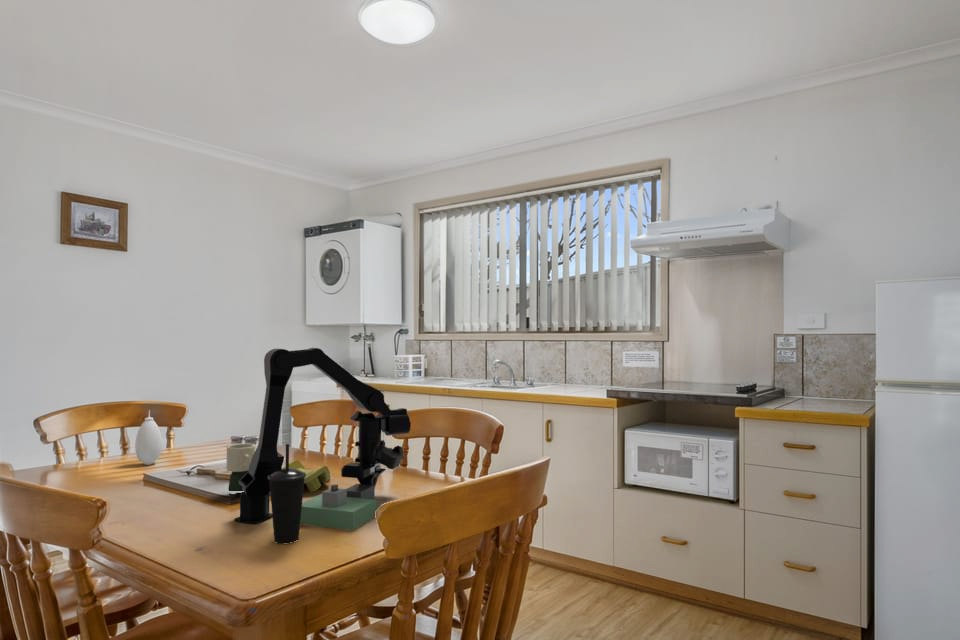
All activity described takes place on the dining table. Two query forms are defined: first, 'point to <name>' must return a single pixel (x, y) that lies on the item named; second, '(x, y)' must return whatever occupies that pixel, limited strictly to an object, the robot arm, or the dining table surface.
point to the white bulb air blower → (148, 442)
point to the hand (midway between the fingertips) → (369, 498)
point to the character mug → (238, 463)
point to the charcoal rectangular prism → (361, 491)
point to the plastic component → (312, 475)
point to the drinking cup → (286, 502)
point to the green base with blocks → (338, 510)
